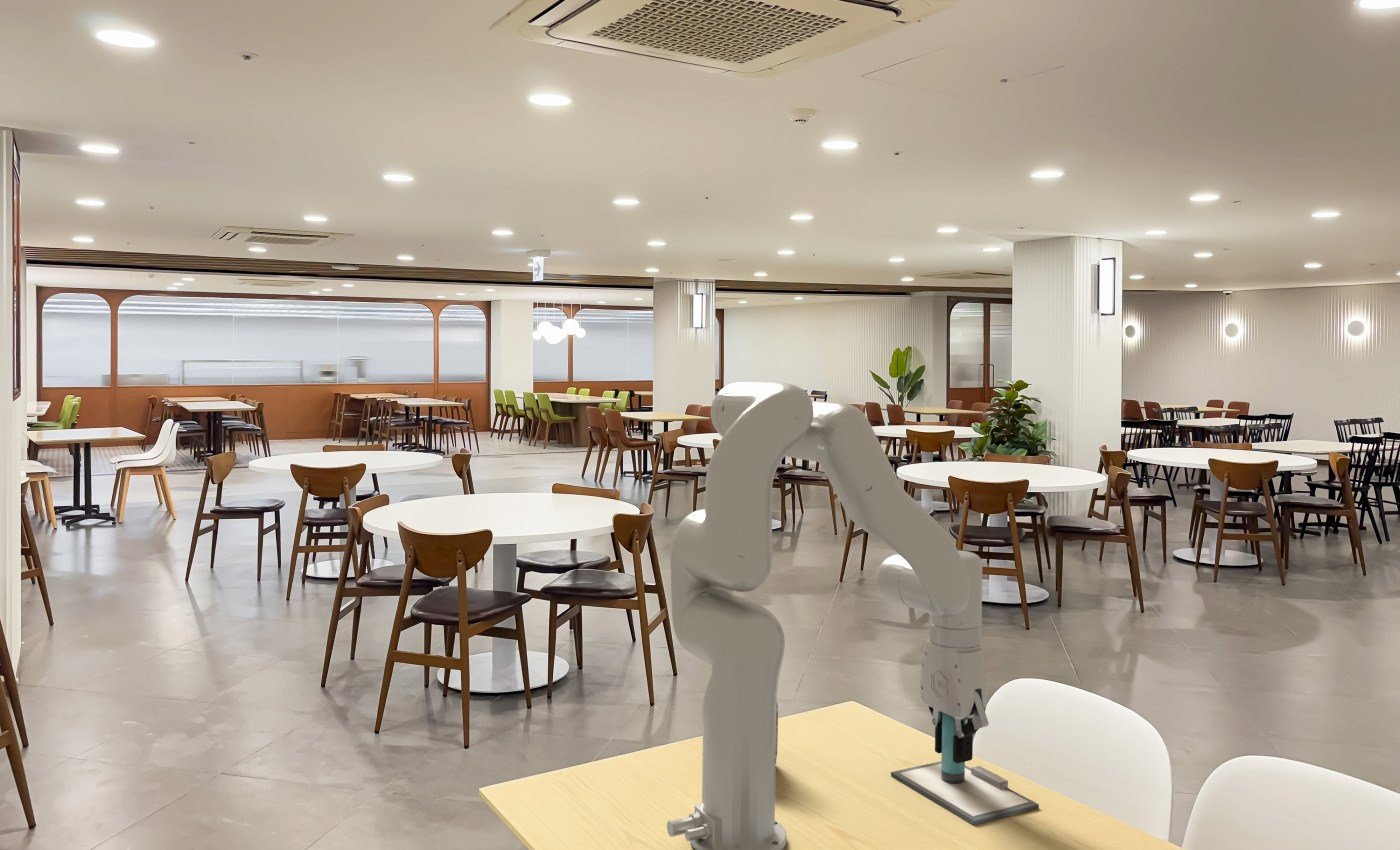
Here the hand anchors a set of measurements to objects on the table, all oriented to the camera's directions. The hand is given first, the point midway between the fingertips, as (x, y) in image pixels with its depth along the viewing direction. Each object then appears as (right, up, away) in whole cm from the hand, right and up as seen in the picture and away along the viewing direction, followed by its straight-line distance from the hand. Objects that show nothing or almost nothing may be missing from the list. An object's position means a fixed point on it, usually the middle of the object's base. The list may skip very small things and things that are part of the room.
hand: (953, 754), depth 147 cm
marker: (0, -4, 0) cm, 4 cm away
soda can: (-29, -4, +6) cm, 30 cm away
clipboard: (+1, -5, -2) cm, 5 cm away
